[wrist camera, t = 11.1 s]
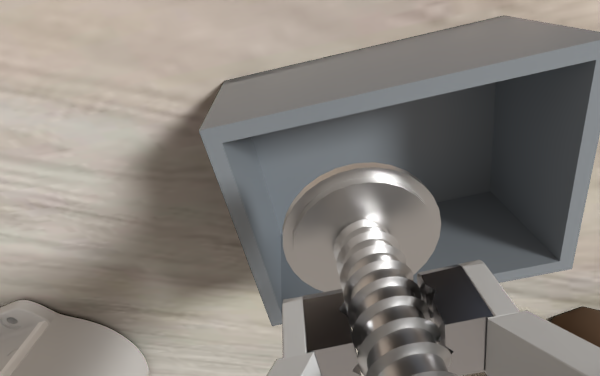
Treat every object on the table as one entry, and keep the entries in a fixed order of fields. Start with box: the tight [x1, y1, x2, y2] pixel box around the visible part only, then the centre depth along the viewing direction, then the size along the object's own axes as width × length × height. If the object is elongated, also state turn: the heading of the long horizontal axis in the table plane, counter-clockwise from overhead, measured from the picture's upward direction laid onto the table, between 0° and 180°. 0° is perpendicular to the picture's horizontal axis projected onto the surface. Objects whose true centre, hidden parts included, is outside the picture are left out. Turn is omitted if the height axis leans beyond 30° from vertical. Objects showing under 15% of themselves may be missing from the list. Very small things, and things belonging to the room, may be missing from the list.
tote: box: [199, 16, 600, 326], centre depth 23 cm, size 18×13×9 cm
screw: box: [283, 162, 458, 376], centre depth 7 cm, size 13×5×5 cm
